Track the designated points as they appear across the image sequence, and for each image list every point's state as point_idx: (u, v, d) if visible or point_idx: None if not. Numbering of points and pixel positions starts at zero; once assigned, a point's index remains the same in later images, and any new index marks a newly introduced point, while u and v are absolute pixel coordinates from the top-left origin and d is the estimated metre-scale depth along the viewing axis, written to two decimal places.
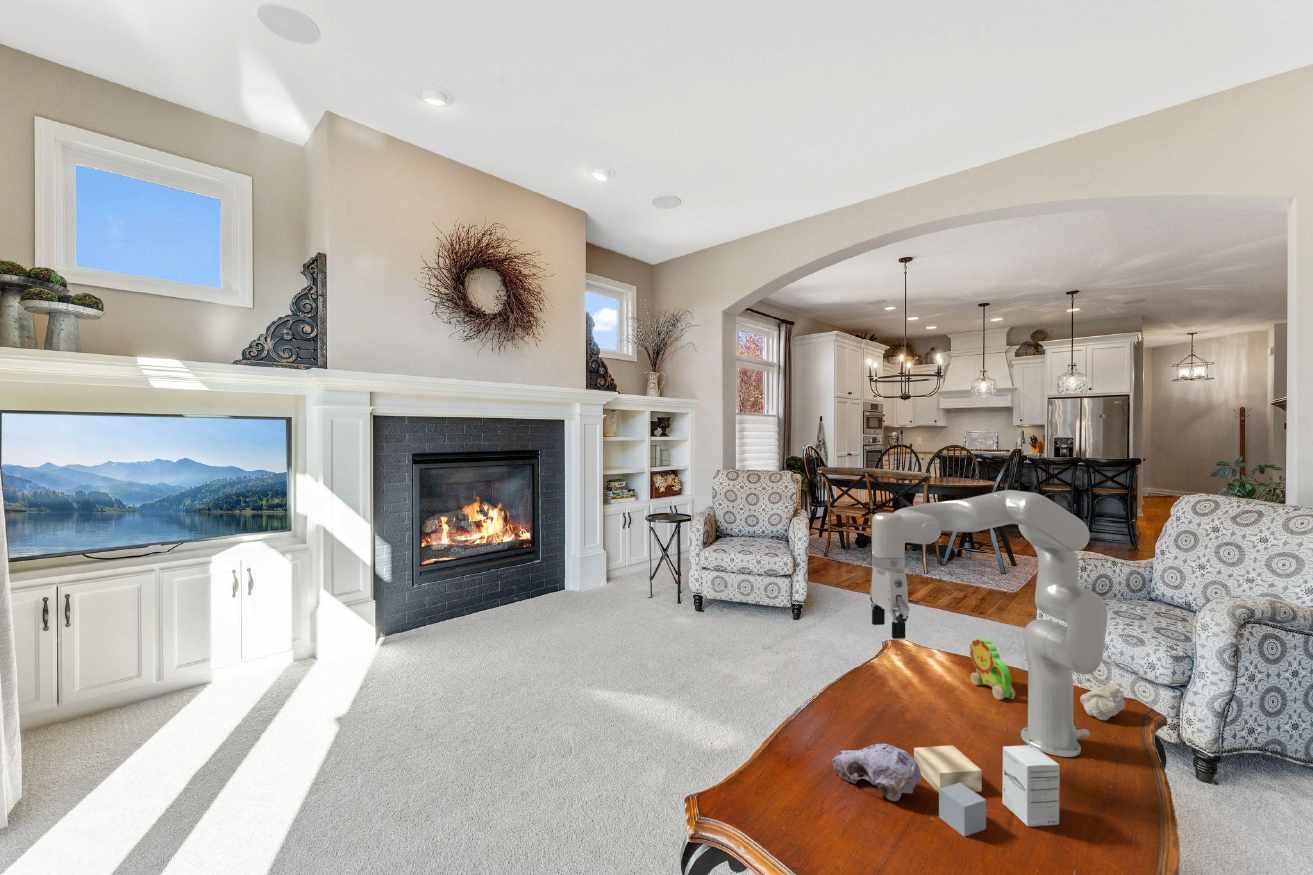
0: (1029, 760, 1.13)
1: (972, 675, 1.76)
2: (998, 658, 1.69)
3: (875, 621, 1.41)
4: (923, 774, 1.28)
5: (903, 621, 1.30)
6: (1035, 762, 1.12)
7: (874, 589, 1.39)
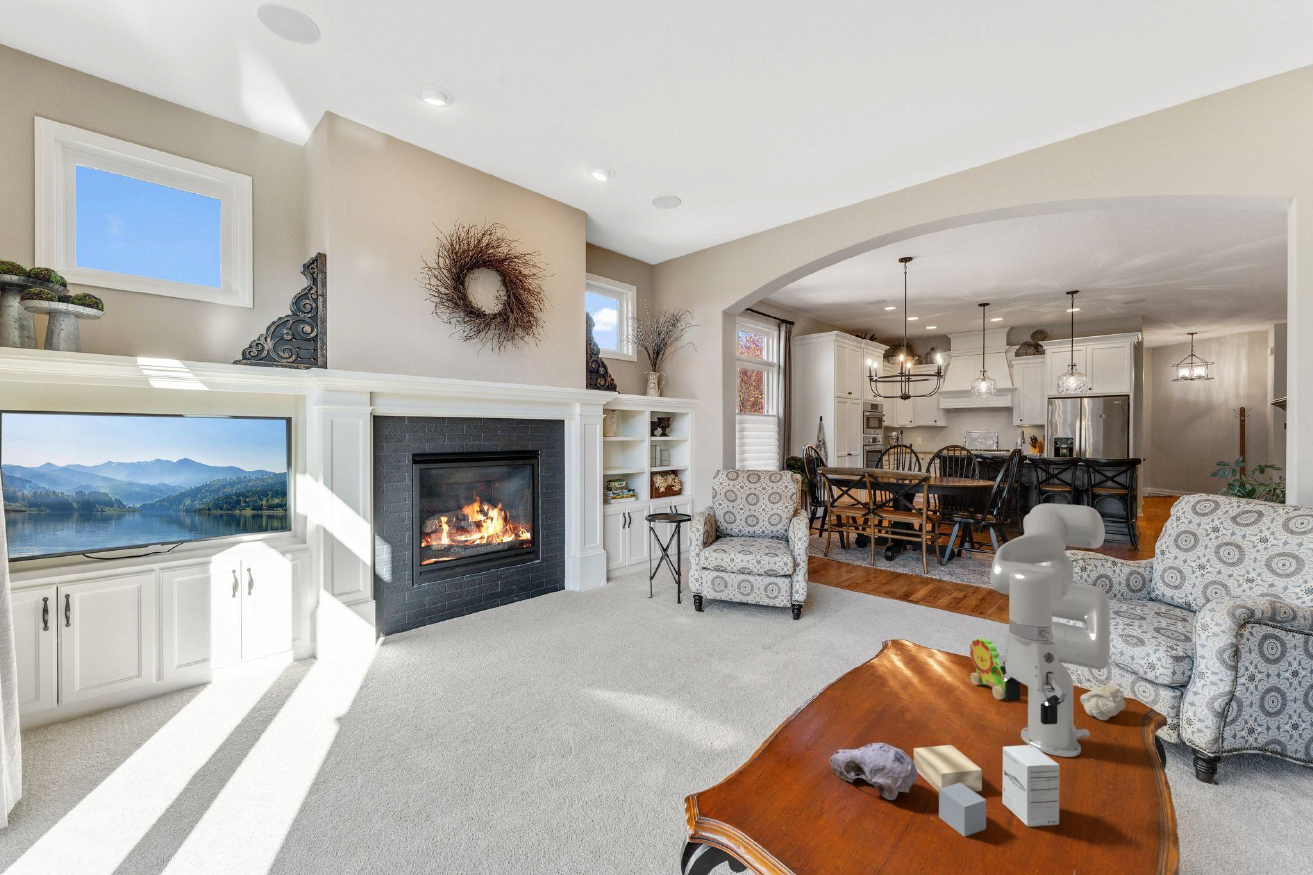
0: (1029, 760, 1.13)
1: (972, 675, 1.76)
2: None
3: (1009, 697, 1.19)
4: (923, 774, 1.27)
5: (1057, 704, 1.09)
6: (1035, 762, 1.12)
7: (1011, 660, 1.17)
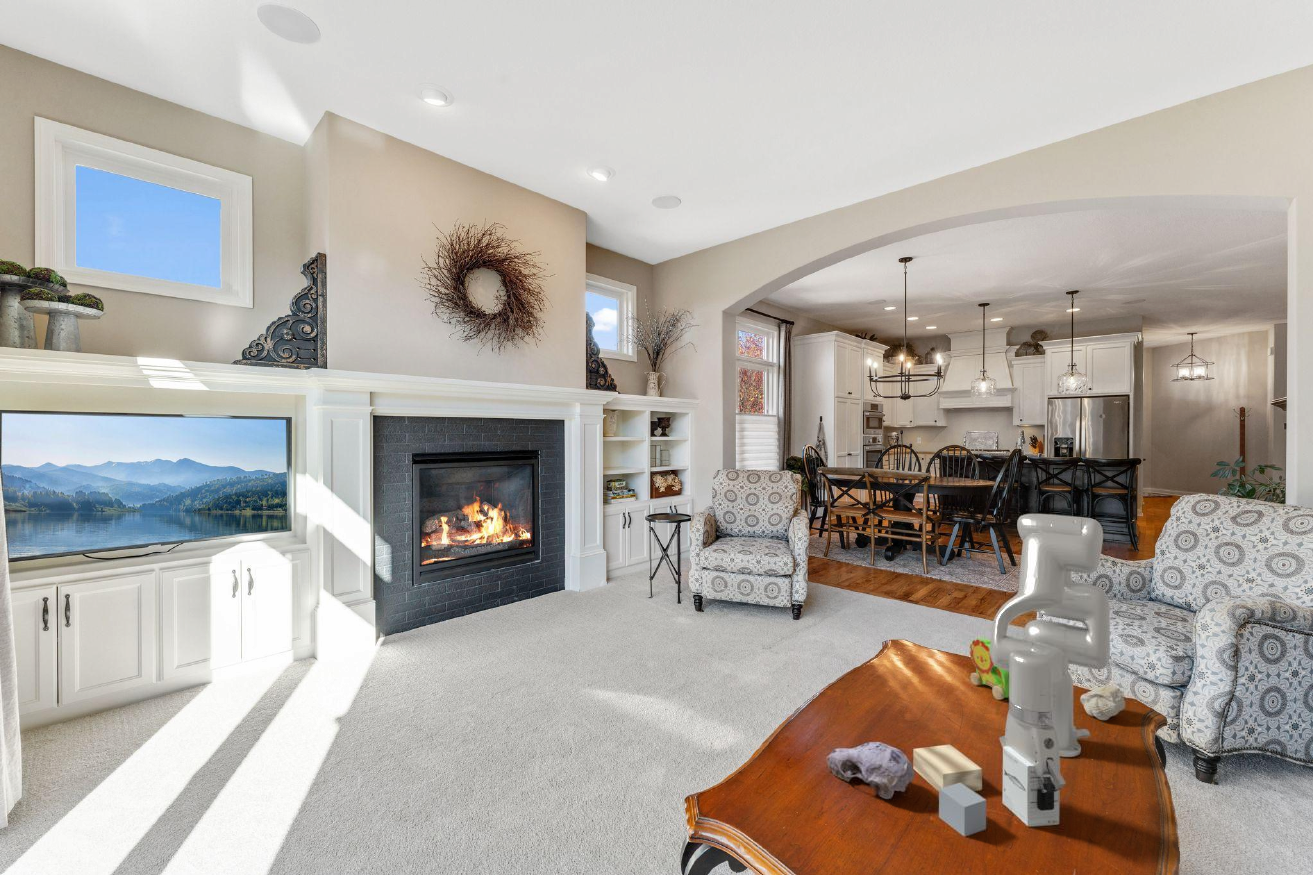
0: None
1: (972, 675, 1.76)
2: None
3: None
4: (924, 775, 1.27)
5: (1053, 791, 1.10)
6: None
7: (1011, 741, 1.17)
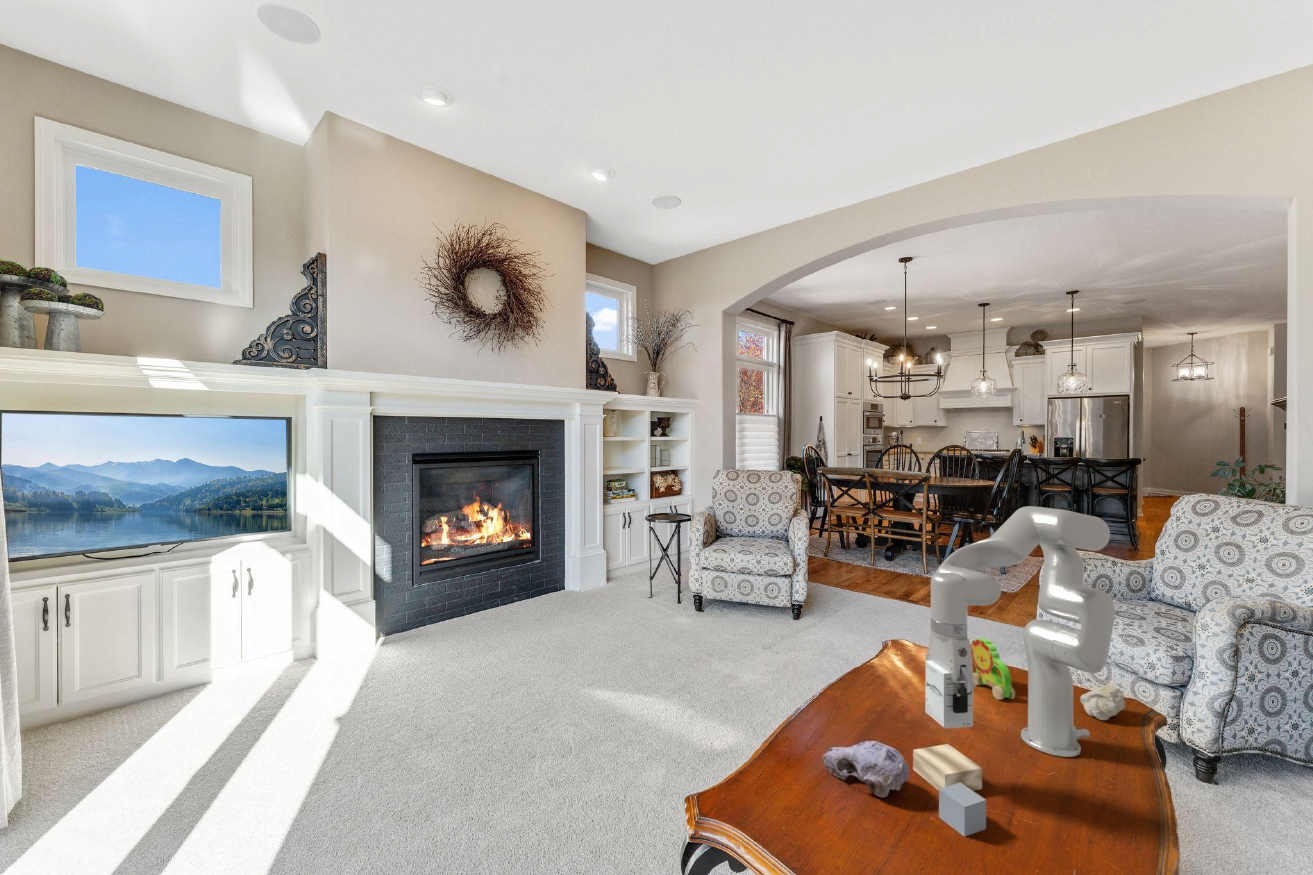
0: None
1: None
2: (998, 658, 1.69)
3: None
4: (924, 776, 1.27)
5: (966, 695, 1.21)
6: None
7: (932, 655, 1.29)
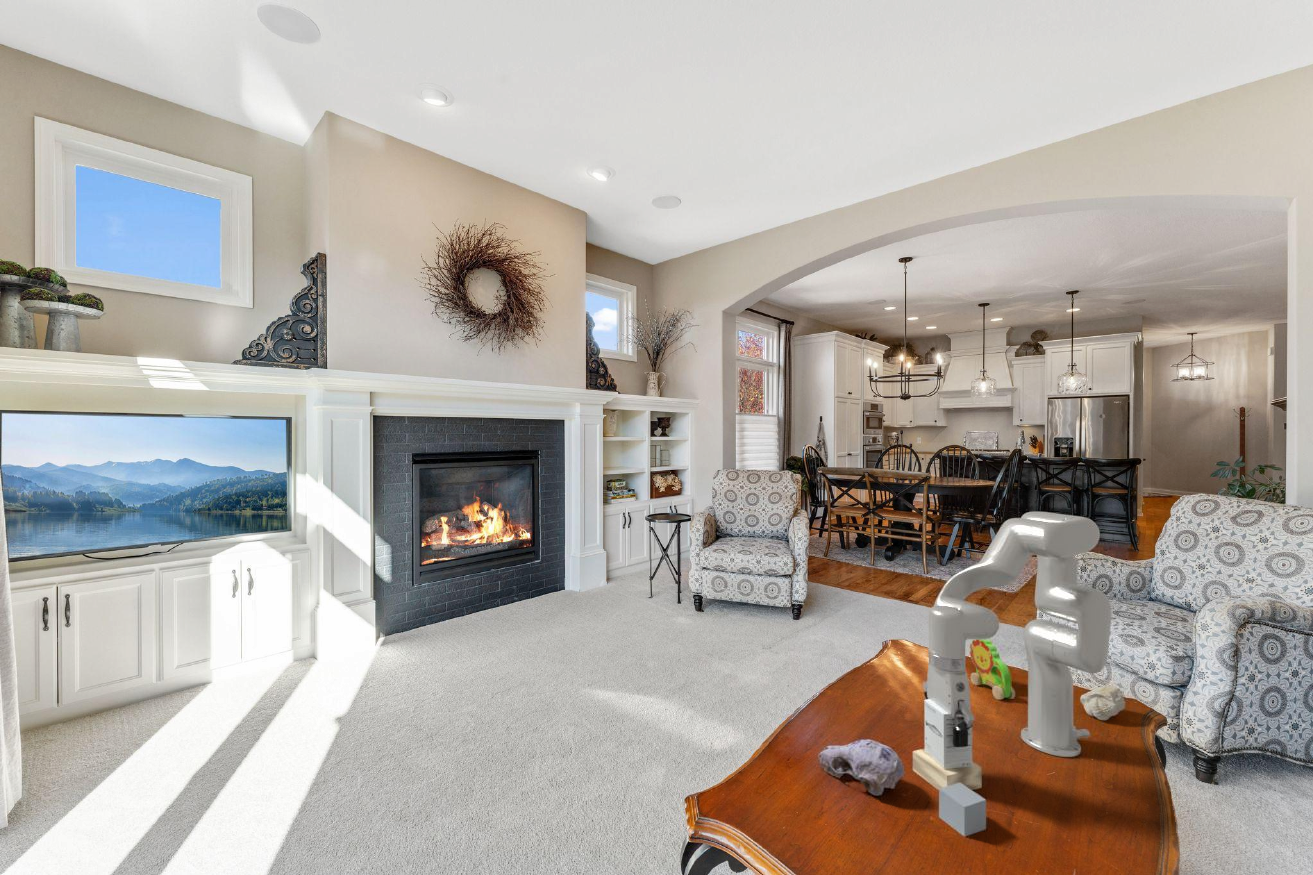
0: None
1: (972, 675, 1.76)
2: (998, 658, 1.69)
3: None
4: (925, 777, 1.27)
5: (966, 729, 1.21)
6: None
7: (930, 687, 1.29)
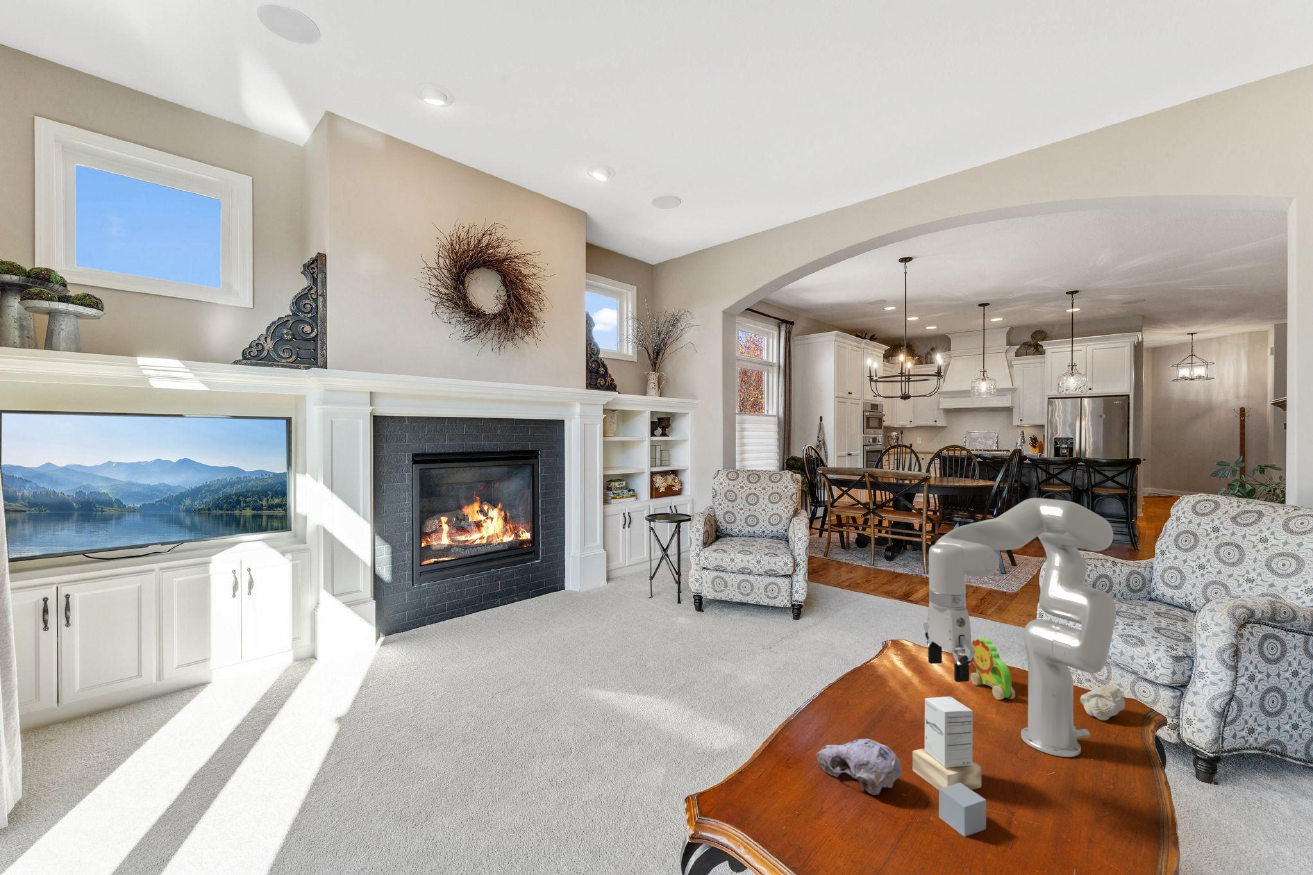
0: (946, 707, 1.25)
1: (972, 675, 1.76)
2: (998, 658, 1.69)
3: (932, 660, 1.31)
4: (925, 777, 1.27)
5: (967, 663, 1.21)
6: (952, 709, 1.25)
7: (931, 626, 1.29)
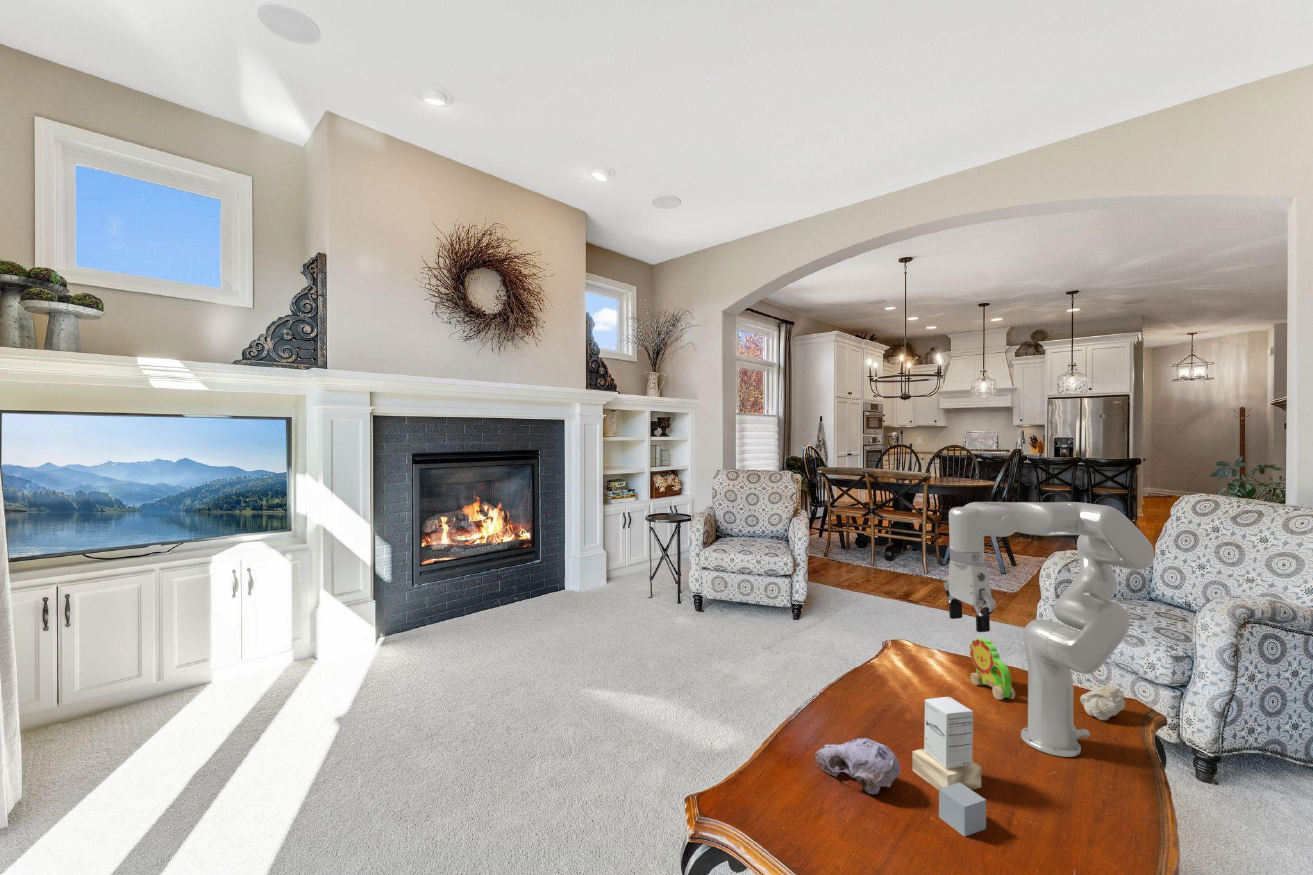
0: (947, 709, 1.25)
1: (972, 675, 1.76)
2: (998, 658, 1.69)
3: (953, 615, 1.42)
4: (925, 777, 1.27)
5: (988, 614, 1.31)
6: (953, 710, 1.24)
7: (952, 583, 1.39)
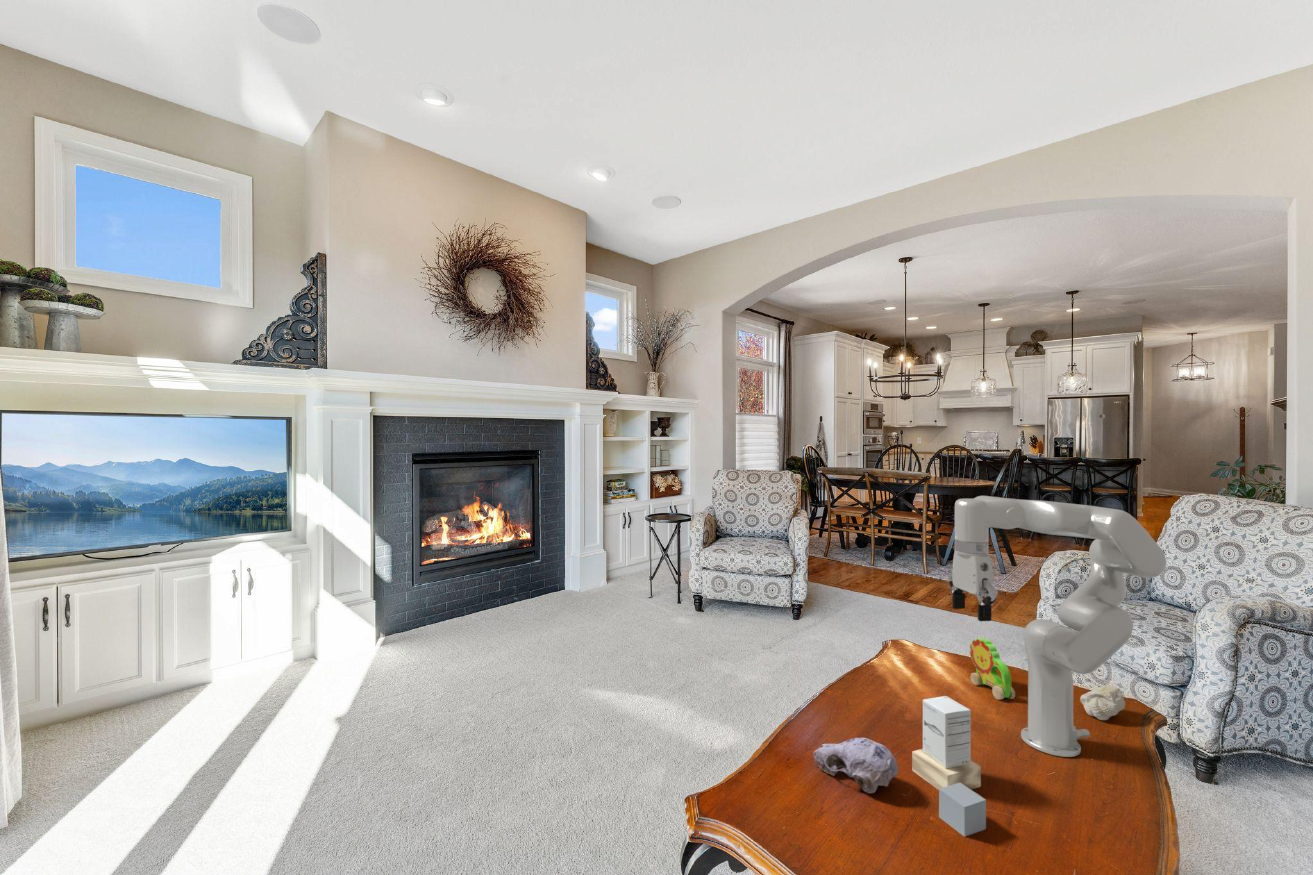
0: (945, 708, 1.25)
1: (972, 675, 1.76)
2: (998, 658, 1.69)
3: (956, 605, 1.44)
4: (924, 777, 1.27)
5: (990, 604, 1.33)
6: (951, 709, 1.25)
7: (956, 573, 1.42)
